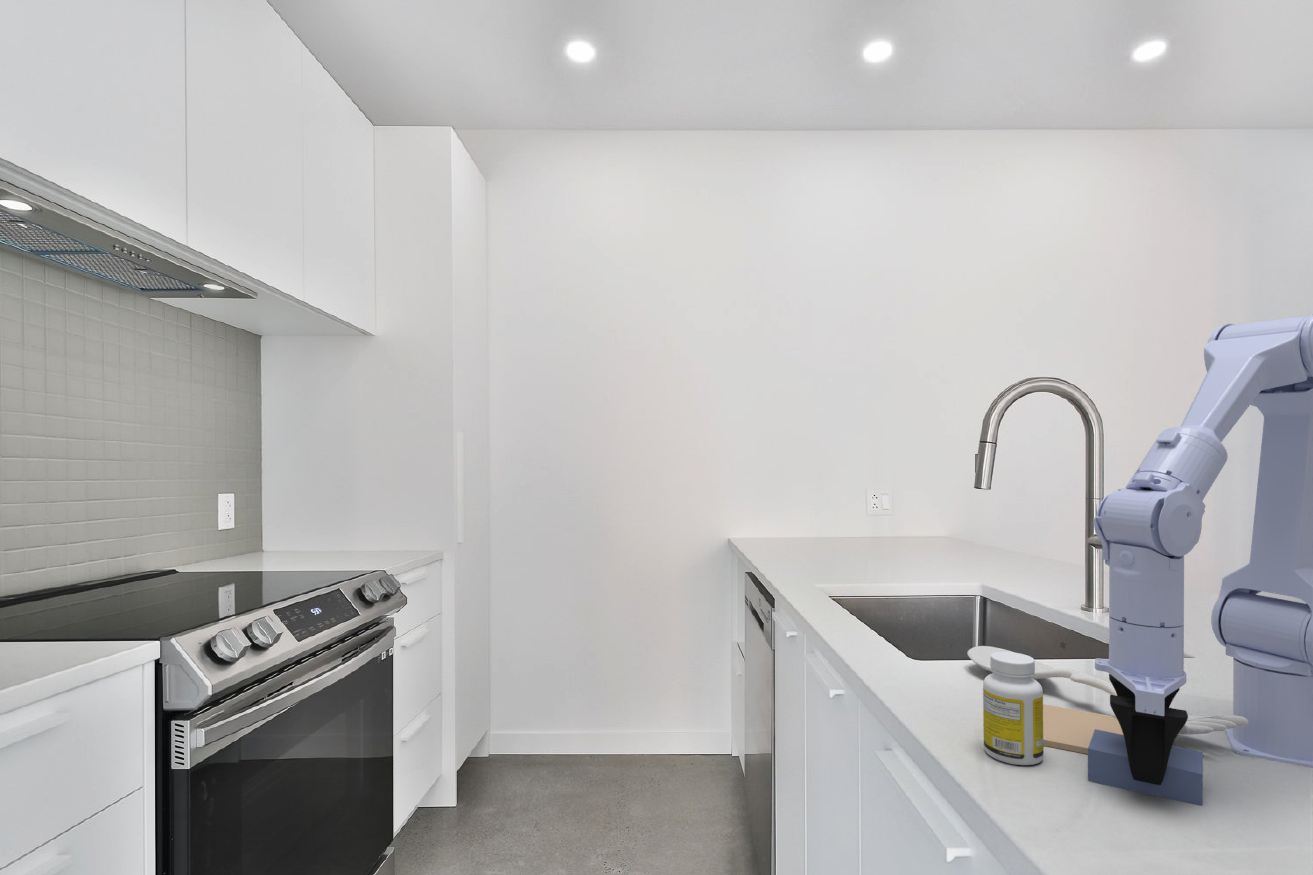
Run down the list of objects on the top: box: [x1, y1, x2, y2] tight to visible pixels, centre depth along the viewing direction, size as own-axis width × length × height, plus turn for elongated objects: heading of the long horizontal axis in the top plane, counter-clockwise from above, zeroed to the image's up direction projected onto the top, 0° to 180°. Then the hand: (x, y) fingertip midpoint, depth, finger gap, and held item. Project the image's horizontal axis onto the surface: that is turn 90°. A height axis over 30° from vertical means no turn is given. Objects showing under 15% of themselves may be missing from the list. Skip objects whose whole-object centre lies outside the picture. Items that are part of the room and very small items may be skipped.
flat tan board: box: [1043, 703, 1123, 755], centre depth 79 cm, size 14×11×1 cm
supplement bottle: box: [982, 651, 1044, 766], centre depth 73 cm, size 5×5×10 cm
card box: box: [1087, 729, 1204, 807], centre depth 67 cm, size 8×6×3 cm, turn 53°
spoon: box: [966, 645, 1249, 736], centre depth 86 cm, size 9×32×4 cm, turn 18°
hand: (1144, 766), depth 67 cm, fingers closed on card box, 6 cm apart
